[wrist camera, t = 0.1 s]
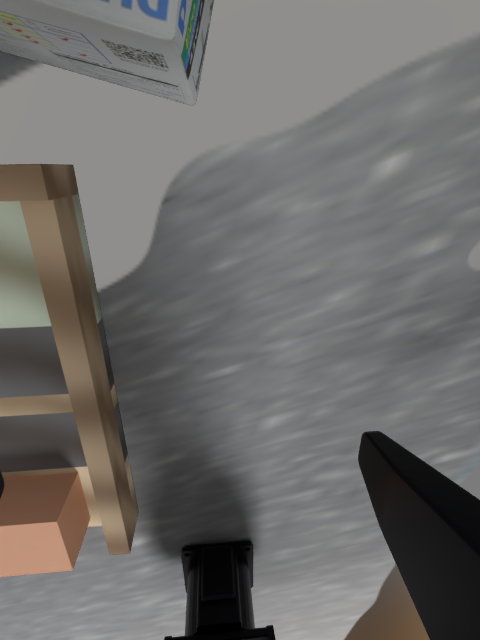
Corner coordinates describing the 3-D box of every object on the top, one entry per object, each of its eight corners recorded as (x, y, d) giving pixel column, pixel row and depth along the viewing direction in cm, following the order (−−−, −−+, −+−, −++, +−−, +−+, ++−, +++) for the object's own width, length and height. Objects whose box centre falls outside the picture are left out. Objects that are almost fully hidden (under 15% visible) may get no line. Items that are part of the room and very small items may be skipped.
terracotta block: (90, 517, 28) (72, 570, 24) (13, 524, 28) (-17, 578, 24) (78, 472, 26) (56, 521, 22) (-6, 478, 26) (-41, 529, 22)
